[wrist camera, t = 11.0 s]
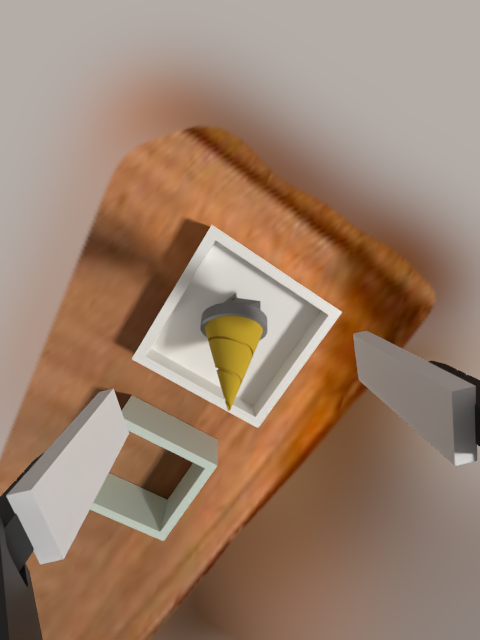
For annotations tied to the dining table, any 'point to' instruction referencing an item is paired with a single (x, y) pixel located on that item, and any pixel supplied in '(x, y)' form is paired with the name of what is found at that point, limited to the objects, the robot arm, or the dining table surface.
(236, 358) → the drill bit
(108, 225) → the dining table surface
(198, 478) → the pale green square frame
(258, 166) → the dining table surface
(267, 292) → the tray
